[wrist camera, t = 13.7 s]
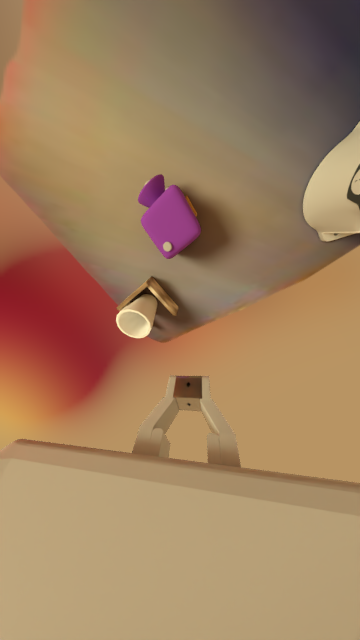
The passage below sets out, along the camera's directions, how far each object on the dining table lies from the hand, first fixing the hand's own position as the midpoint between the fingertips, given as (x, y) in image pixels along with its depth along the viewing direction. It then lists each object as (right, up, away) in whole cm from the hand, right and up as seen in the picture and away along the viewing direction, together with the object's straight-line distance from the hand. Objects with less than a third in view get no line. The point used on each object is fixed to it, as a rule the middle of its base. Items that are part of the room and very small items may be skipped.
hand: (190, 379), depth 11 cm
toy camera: (-3, +29, +22) cm, 37 cm away
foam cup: (-12, +11, +36) cm, 39 cm away
